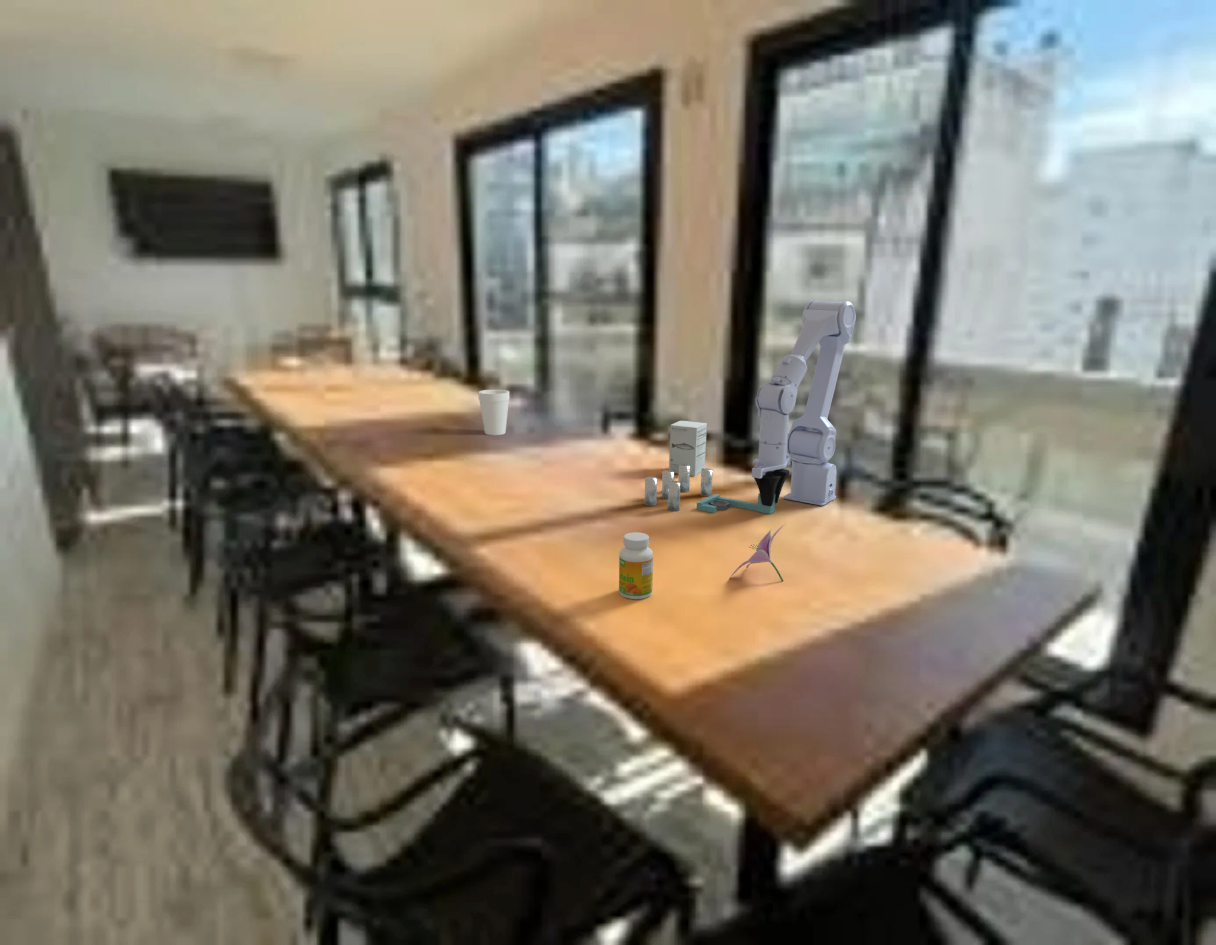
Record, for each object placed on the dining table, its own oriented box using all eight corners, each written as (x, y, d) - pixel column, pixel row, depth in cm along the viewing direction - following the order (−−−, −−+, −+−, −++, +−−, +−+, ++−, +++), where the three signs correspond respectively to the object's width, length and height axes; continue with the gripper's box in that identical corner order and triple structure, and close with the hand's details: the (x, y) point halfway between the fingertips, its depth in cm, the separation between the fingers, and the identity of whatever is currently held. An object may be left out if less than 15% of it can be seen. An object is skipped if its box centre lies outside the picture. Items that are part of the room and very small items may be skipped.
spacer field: (713, 494, 184) (714, 469, 183) (675, 511, 172) (676, 484, 170) (681, 488, 189) (682, 463, 188) (642, 504, 176) (642, 478, 175)
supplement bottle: (611, 593, 129) (612, 536, 127) (634, 584, 133) (635, 528, 130) (636, 602, 125) (636, 544, 123) (659, 593, 129) (660, 536, 127)
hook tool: (774, 511, 172) (775, 494, 171) (756, 521, 165) (757, 503, 164) (716, 500, 180) (716, 483, 179) (696, 509, 173) (697, 491, 172)
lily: (778, 567, 143) (754, 520, 143) (822, 563, 133) (796, 512, 132) (731, 601, 138) (705, 552, 137) (773, 599, 127) (746, 546, 127)
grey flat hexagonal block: (732, 508, 175) (732, 501, 175) (722, 513, 172) (722, 506, 171) (716, 504, 178) (716, 498, 177) (706, 509, 174) (706, 503, 174)
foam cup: (474, 434, 248) (473, 393, 244) (487, 429, 256) (486, 388, 253) (503, 436, 245) (501, 394, 242) (515, 431, 254) (514, 390, 250)
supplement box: (667, 473, 203) (669, 424, 200) (679, 467, 209) (680, 419, 206) (695, 477, 200) (696, 427, 197) (705, 470, 206) (707, 422, 203)
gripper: (770, 433, 175) (767, 493, 179) (739, 445, 164) (736, 508, 168) (801, 437, 171) (797, 498, 175) (771, 449, 160) (767, 514, 163)
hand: (769, 503), depth 171 cm, fingers closed on hook tool, 2 cm apart
